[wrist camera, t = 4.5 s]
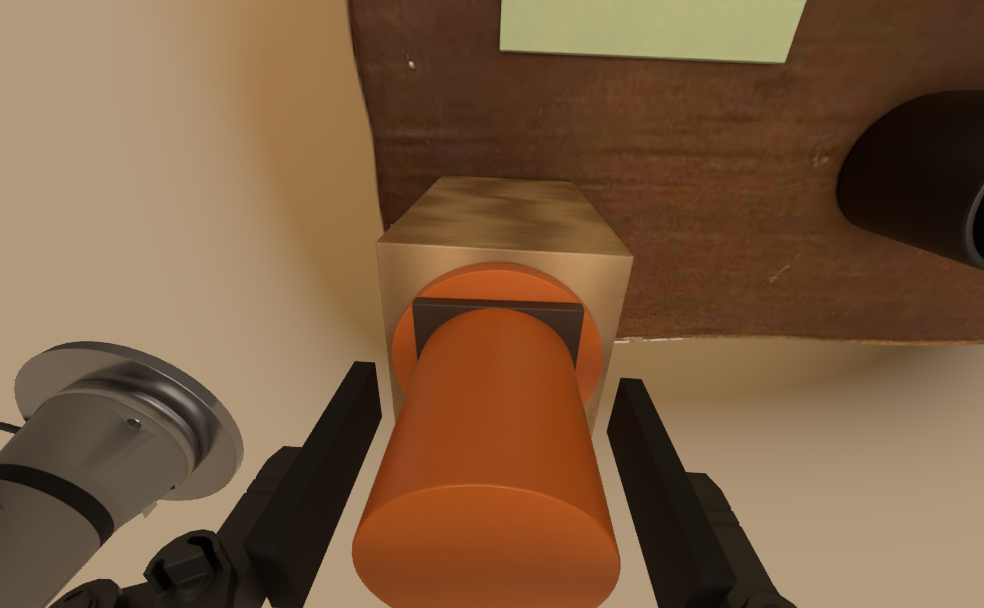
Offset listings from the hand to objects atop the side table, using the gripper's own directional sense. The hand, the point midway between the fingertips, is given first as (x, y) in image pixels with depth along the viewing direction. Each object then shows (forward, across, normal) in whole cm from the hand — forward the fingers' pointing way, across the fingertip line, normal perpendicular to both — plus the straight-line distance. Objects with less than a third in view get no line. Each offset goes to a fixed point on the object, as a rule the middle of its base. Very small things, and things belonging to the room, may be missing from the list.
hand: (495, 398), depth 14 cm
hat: (+3, 0, 0) cm, 3 cm away
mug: (+19, +30, +7) cm, 36 cm away
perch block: (+19, 0, 0) cm, 19 cm away
